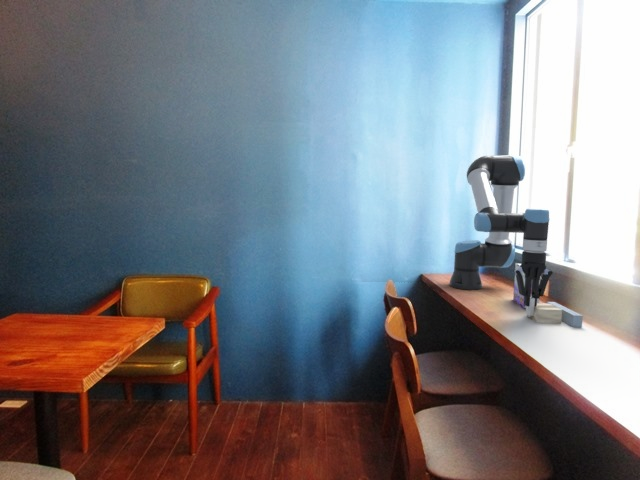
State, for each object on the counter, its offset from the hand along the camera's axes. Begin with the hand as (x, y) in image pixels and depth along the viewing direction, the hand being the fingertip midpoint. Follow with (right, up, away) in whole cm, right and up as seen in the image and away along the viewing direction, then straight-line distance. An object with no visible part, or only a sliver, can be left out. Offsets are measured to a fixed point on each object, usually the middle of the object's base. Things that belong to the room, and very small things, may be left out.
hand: (529, 314), depth 132 cm
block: (+5, -2, 0) cm, 5 cm away
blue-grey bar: (+12, -2, 0) cm, 12 cm away
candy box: (+9, 0, +18) cm, 20 cm away
